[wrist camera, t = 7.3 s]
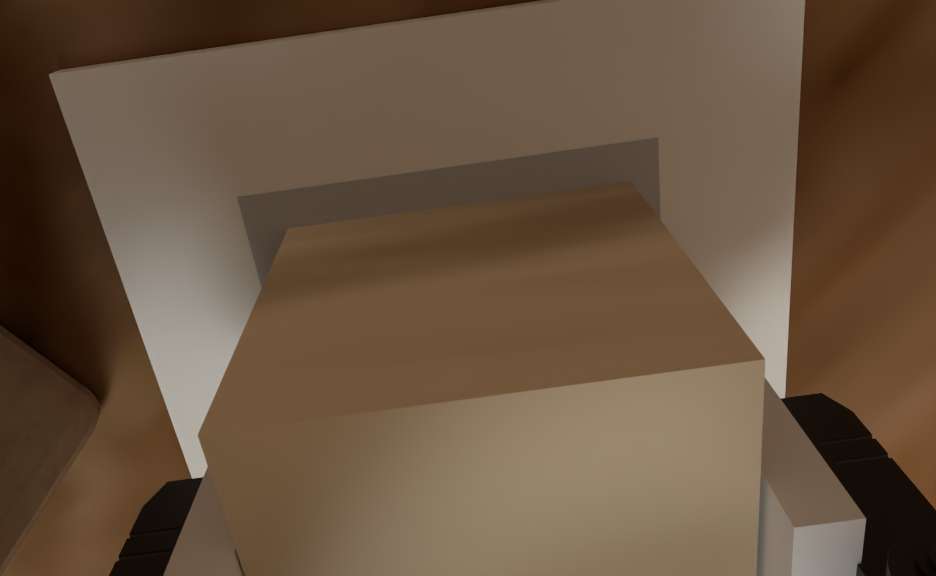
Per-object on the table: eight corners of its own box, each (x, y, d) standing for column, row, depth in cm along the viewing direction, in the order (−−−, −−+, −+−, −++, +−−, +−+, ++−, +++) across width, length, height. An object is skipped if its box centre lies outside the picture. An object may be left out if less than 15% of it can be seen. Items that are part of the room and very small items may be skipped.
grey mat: (59, 69, 13) (47, 74, 12) (796, -37, 13) (808, -35, 12) (245, 602, 18) (241, 618, 18) (770, 532, 18) (778, 547, 17)
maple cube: (287, 228, 14) (197, 435, 8) (631, 181, 14) (765, 359, 8) (353, 497, 16) (316, 789, 11) (642, 460, 16) (750, 733, 11)
